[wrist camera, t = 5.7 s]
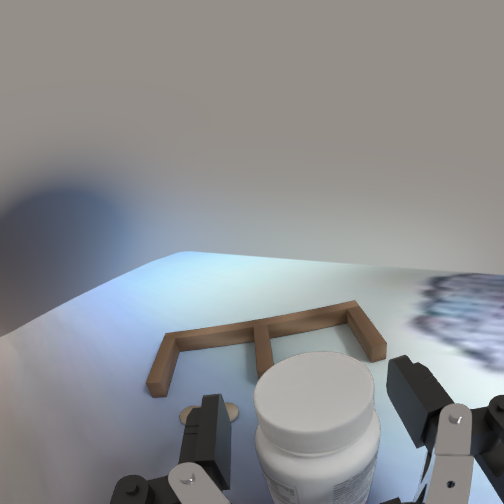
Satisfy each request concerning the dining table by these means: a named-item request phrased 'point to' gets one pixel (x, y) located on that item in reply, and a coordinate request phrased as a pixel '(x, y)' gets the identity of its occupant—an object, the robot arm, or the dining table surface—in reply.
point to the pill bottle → (317, 429)
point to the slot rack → (260, 342)
